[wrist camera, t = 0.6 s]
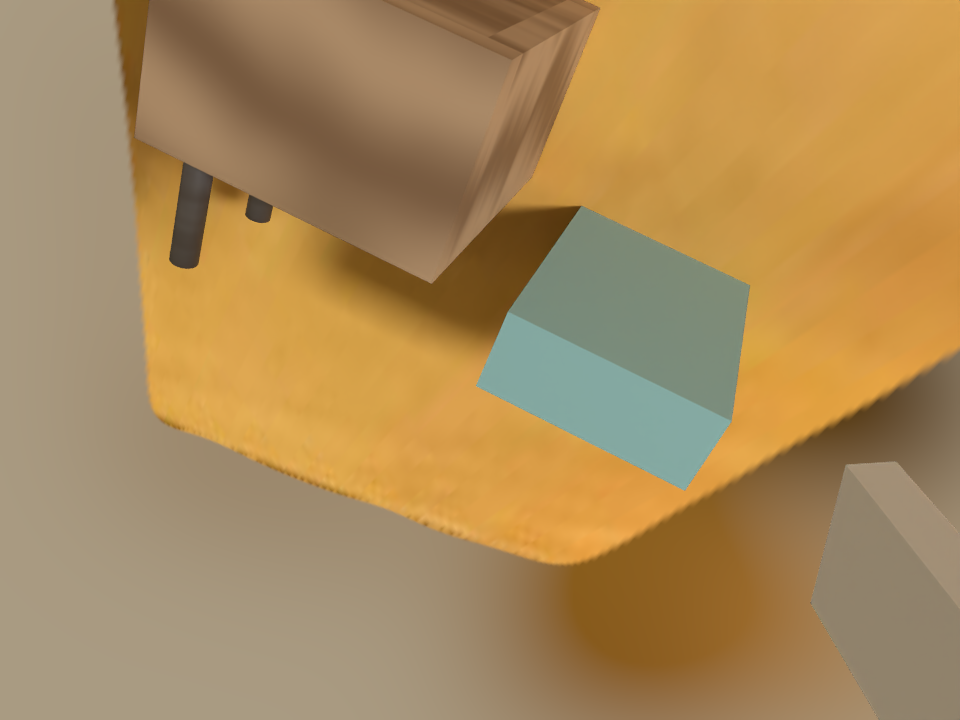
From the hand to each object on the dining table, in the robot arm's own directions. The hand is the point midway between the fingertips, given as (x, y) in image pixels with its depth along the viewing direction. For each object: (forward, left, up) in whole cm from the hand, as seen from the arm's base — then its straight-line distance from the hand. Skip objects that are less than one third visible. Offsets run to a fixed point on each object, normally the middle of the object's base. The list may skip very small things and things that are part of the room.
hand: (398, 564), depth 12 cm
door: (+7, +3, -29) cm, 30 cm away
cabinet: (+5, -10, -29) cm, 32 cm away
